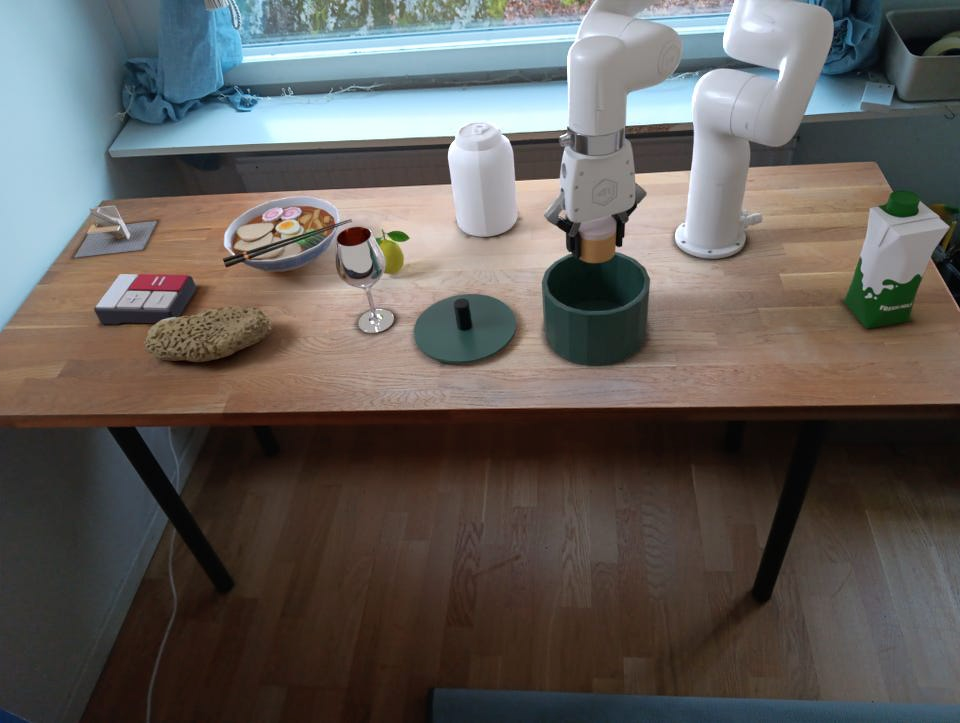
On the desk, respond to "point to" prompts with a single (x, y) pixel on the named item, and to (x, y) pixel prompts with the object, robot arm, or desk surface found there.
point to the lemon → (392, 250)
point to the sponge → (207, 334)
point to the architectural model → (113, 234)
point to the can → (483, 179)
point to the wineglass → (363, 272)
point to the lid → (465, 328)
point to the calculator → (145, 298)
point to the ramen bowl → (282, 233)
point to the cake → (598, 239)
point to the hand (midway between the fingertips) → (595, 247)
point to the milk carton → (893, 259)
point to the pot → (595, 308)
